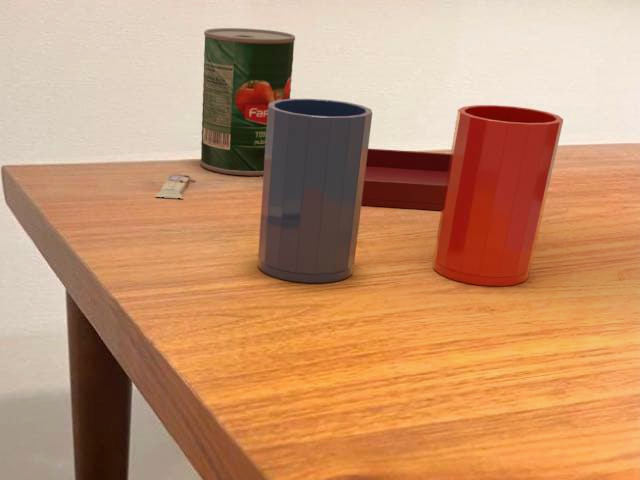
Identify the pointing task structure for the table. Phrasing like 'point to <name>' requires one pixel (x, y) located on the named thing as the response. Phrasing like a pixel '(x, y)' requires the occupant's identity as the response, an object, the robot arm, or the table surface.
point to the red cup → (495, 193)
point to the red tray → (405, 179)
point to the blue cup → (312, 188)
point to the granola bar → (175, 186)
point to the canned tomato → (241, 95)
